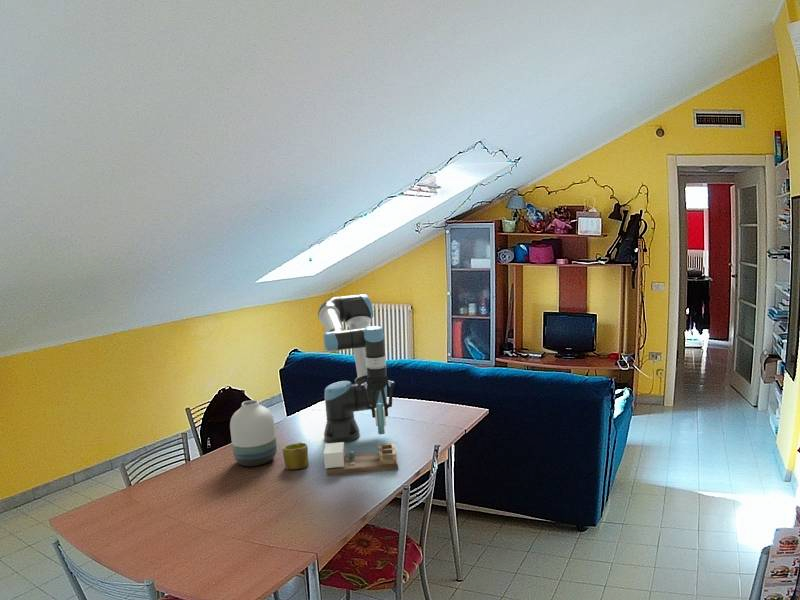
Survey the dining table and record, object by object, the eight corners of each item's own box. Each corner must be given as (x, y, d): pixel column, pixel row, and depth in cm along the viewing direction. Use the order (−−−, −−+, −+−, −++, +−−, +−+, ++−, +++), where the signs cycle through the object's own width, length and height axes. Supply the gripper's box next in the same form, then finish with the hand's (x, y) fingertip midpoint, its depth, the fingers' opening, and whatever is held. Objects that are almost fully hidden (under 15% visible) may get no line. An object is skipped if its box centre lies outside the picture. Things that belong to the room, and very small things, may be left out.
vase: (226, 463, 243) (219, 405, 240) (261, 449, 255) (255, 393, 252) (250, 473, 232) (243, 412, 228) (286, 458, 244) (280, 399, 241)
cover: (326, 457, 235) (325, 443, 235) (345, 456, 236) (343, 442, 235) (325, 468, 225) (323, 453, 225) (344, 466, 226) (342, 451, 225)
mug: (306, 467, 228) (298, 441, 230) (283, 475, 231) (275, 449, 232) (319, 461, 240) (312, 436, 241) (297, 468, 242) (289, 443, 244)
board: (329, 462, 237) (328, 448, 236) (396, 455, 238) (395, 442, 238) (327, 476, 224) (325, 461, 224) (398, 469, 225) (397, 455, 225)
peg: (378, 432, 243) (376, 403, 241) (384, 431, 243) (382, 402, 242) (378, 434, 241) (376, 405, 239) (384, 434, 241) (382, 404, 239)
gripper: (356, 370, 234) (361, 429, 238) (396, 367, 235) (401, 426, 238) (356, 365, 241) (361, 423, 245) (395, 362, 242) (400, 419, 246)
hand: (380, 424), depth 242 cm, fingers closed on peg, 2 cm apart
